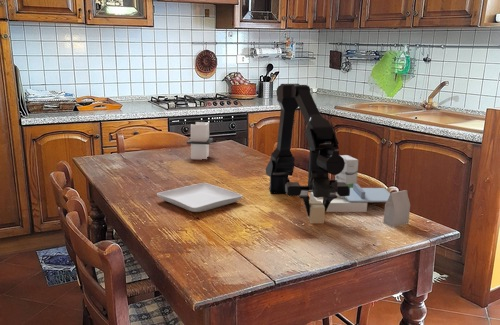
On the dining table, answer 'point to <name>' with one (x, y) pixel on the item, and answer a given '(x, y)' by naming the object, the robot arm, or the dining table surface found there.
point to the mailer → (342, 204)
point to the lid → (367, 194)
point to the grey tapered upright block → (397, 209)
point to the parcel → (316, 212)
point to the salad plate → (199, 197)
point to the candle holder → (200, 140)
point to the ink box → (348, 171)
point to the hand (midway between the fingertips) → (315, 215)
